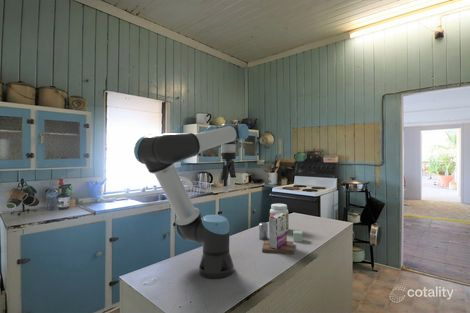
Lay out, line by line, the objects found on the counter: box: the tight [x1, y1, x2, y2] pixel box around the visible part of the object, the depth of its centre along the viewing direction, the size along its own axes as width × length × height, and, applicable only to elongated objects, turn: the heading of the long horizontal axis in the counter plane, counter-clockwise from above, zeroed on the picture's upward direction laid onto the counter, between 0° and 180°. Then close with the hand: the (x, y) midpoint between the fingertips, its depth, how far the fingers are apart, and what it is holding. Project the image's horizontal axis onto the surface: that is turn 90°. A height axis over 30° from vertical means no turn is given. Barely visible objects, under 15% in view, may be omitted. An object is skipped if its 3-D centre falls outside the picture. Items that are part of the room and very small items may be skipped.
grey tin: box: [258, 222, 269, 241], centre depth 153 cm, size 5×5×9 cm
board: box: [261, 239, 295, 255], centre depth 137 cm, size 14×16×2 cm
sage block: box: [292, 230, 303, 243], centre depth 149 cm, size 5×5×5 cm
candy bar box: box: [268, 213, 288, 249], centre depth 137 cm, size 11×5×16 cm, turn 143°
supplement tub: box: [269, 203, 290, 232], centre depth 169 cm, size 12×12×17 cm
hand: (229, 190), depth 141 cm, fingers open, 13 cm apart
